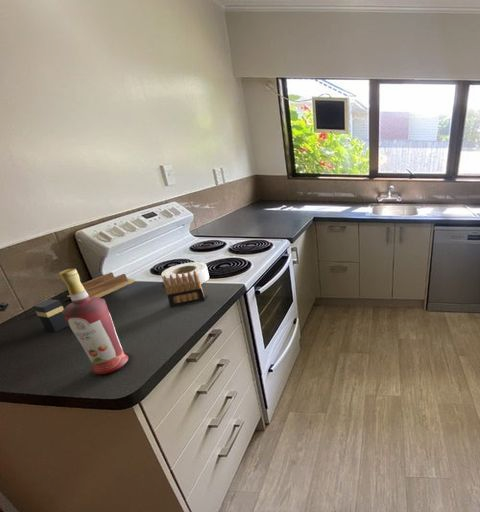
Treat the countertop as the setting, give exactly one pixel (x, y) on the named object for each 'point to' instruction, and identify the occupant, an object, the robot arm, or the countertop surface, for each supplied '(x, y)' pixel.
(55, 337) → the countertop surface
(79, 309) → the liquor
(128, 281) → the rack
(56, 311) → the dark box with band
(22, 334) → the countertop surface
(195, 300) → the ammunition clip
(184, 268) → the tape roll
